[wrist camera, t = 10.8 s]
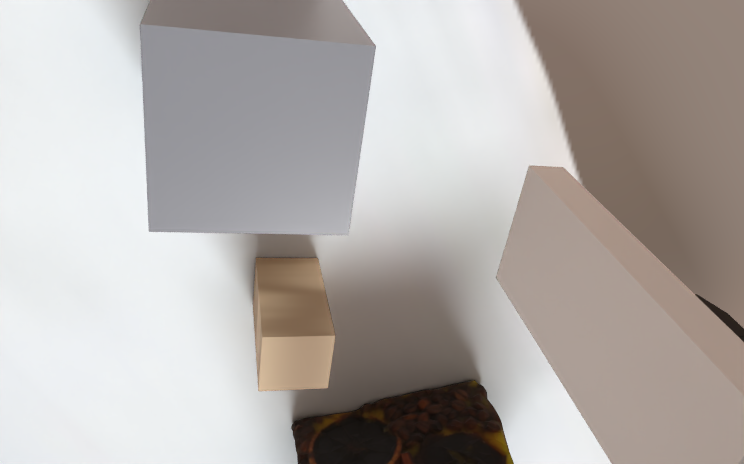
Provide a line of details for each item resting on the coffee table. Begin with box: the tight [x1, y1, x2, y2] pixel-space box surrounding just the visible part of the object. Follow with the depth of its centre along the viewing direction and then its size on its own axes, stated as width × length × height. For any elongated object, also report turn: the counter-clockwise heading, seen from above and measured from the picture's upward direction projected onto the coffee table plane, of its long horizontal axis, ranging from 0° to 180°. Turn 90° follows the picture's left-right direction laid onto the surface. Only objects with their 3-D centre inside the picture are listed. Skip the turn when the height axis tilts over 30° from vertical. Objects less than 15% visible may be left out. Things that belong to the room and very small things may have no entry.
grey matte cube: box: [140, 0, 376, 235], centre depth 18 cm, size 5×5×7 cm
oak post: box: [253, 258, 335, 391], centre depth 25 cm, size 3×3×5 cm
